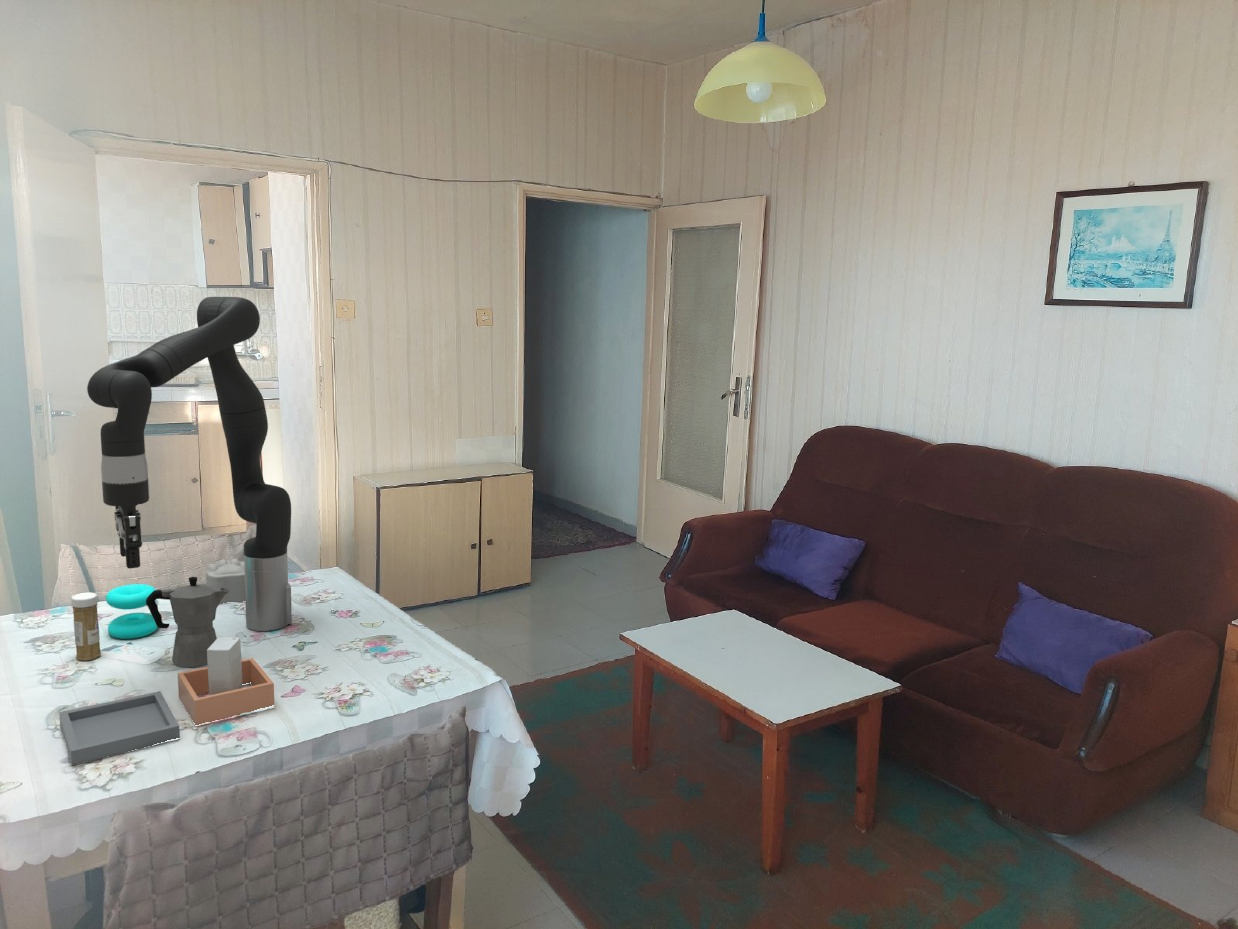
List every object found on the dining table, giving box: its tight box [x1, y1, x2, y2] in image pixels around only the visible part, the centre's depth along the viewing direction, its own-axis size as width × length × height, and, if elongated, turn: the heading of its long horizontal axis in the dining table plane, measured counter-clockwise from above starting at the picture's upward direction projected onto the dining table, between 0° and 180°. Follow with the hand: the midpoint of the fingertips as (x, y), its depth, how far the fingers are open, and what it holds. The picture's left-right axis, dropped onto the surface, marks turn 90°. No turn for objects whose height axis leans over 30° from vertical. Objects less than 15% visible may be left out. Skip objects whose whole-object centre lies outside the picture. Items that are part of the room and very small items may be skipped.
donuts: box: [105, 583, 159, 640], centre depth 196 cm, size 10×10×10 cm
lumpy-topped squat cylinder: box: [205, 557, 245, 605], centre depth 222 cm, size 10×13×9 cm
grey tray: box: [58, 690, 181, 766], centre depth 153 cm, size 16×16×2 cm
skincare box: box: [207, 636, 244, 696], centre depth 165 cm, size 6×4×12 cm
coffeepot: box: [146, 576, 229, 669], centre depth 182 cm, size 15×9×18 cm, turn 110°
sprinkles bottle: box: [71, 592, 102, 662], centre depth 181 cm, size 5×5×14 cm
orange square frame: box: [177, 657, 275, 726], centre depth 165 cm, size 14×14×5 cm
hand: (130, 561), depth 166 cm, fingers open, 8 cm apart
